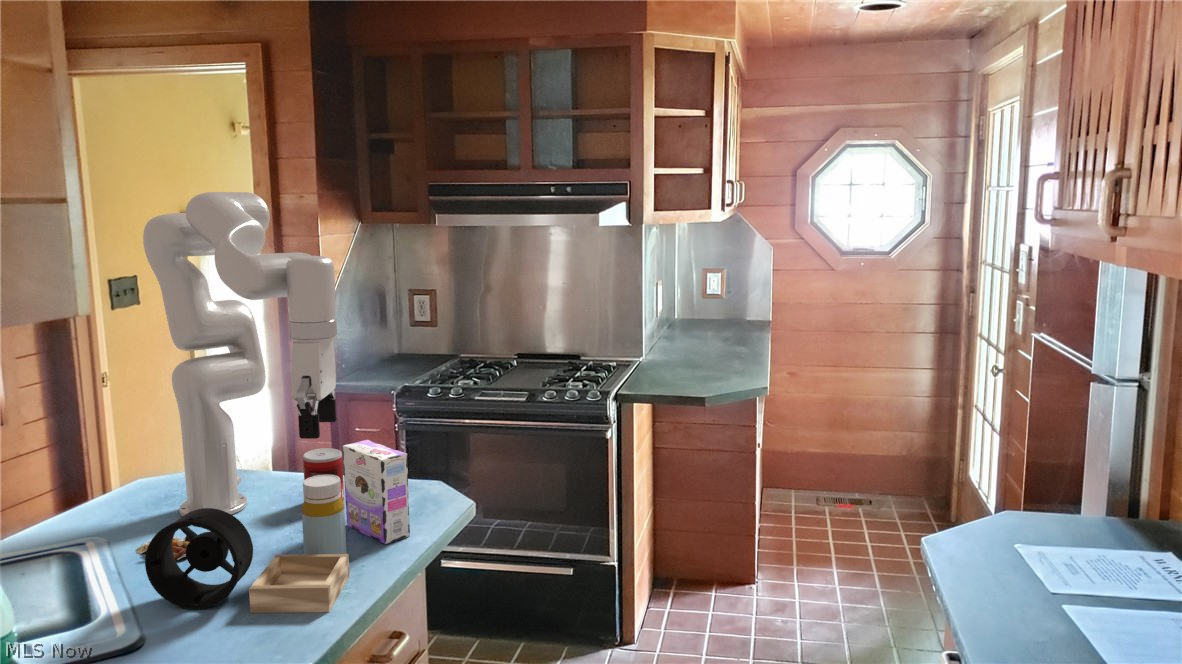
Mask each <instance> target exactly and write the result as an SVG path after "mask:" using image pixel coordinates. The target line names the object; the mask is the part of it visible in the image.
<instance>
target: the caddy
mask: <svg viewBox="0 0 1182 664" xmlns="http://www.w3.org/2000/svg"><path fill="white" fill-rule="evenodd" d="M349 556H350V555H349V553H347V554H304V553H303V554H275V555H274V557H273V558H272V559H271V561H270V562H269V563H268V564H267V566H266V567H265V568H264V570H262V572H261V573H260V575H259V576H258V577H257V578H256V579H255V580H254V582H253V583H252V584H251V586H250V587H249V588H248V594H249V609H250V614H270V613H271V614H273V613H274V614H277V613H283V614H284V613H288V614H291V613H330V612H331V610H332V609H333V607H334V605H335V603H336V601H337V600H338V597H339V595H340V594H341V592H342V591H343V589H344V587H345V585H346V584H347V581H348V580H349V578H350V560H349V559H350V558H349Z"/></svg>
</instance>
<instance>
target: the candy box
mask: <svg viewBox="0 0 1182 664" xmlns="http://www.w3.org/2000/svg"><path fill="white" fill-rule="evenodd" d="M341 448H342V460H343V482H344V498H345V511H346V512H345V513H346V514H345V515H346V516H345V517H346V525H347V526H348V527H349V528H351V529H354V530H355V531H357V532H360V533H362V534H363V535H365V536H367V537H370V538H371V539H373V540H376V541H378V542H380V543H382V544H384V545H387V544H391V543H393V542H396V541H400V540H402V539H406V538H408V537H410V536H411V529H410V507H409V505H410V504H409V503H410V502H409V501H410V500H409V473H408V472H409V471H408V453H406V452H403V451H400V450H397V449H394V448H392V447H388V446H386V445H383V444H380V443H377V442H375V441H372V440H369V439H365V440H360V441H357V442H352V443H349V444H348V443H347V444H344V445H342V447H341Z"/></svg>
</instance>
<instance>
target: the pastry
mask: <svg viewBox="0 0 1182 664" xmlns="http://www.w3.org/2000/svg"><path fill="white" fill-rule="evenodd" d="M190 541H191V540H190V539H189V538H188V537H187V536H186V535H185V537H184V538H183V539H181V538H179V537H178V538H177V537H173V541H172V551H173V556H174V558H175V561H179V560H180V559H182V558H186V548H187V545H188V544H189V542H190ZM150 542H151V540H150V541H148V542H143V543H142V544H141V545H140V546H138V547H137V548H136V549H135V552H136V553H137V554H139V555H141V554H143V553H146V551H147V548H148V545H149V543H150Z"/></svg>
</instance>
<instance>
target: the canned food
mask: <svg viewBox="0 0 1182 664" xmlns="http://www.w3.org/2000/svg"><path fill="white" fill-rule="evenodd" d="M302 461H303V462H302V464H303V466H302V467H303V481H304V480H305V479H307V478H310V477H313V476H317V475H335V476H338V477H339V478H340V480H341V498H342V500H343V502H344V500H345V482H344V465H343V451H341V450H340V449H336V448H334V447H333V448H330V447H329V448H328V447H322V448H316V449H312V450H309V451H306V452H305V453H304V454H303V455H302Z"/></svg>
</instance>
